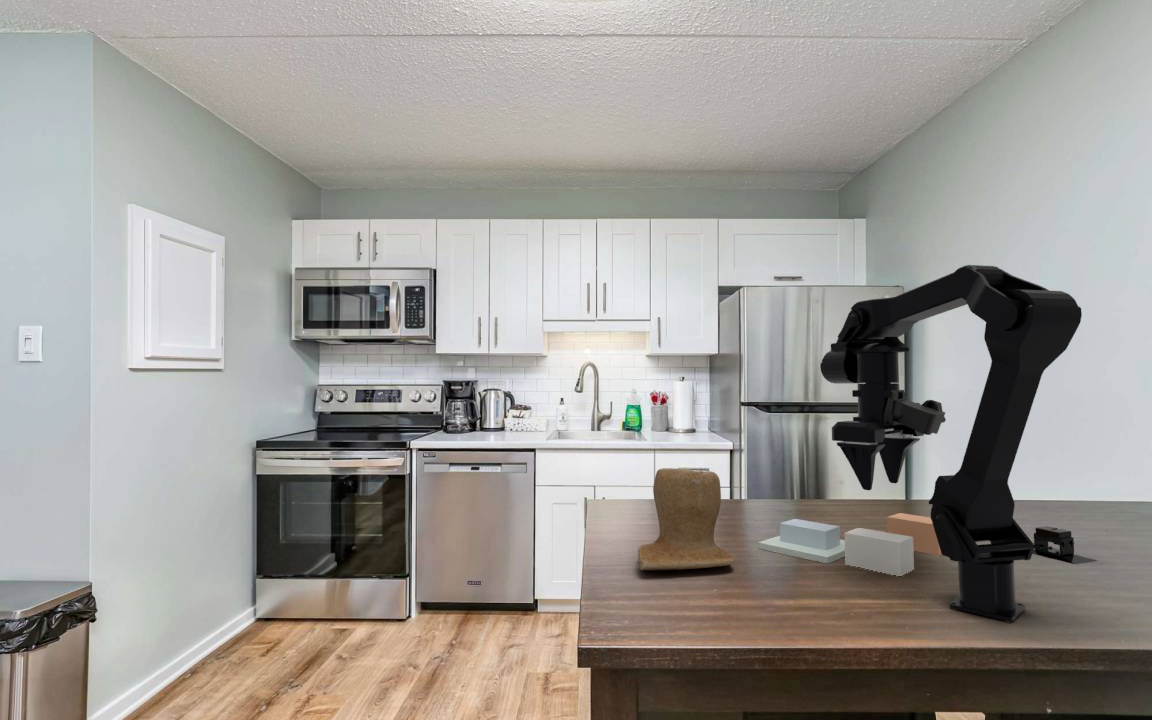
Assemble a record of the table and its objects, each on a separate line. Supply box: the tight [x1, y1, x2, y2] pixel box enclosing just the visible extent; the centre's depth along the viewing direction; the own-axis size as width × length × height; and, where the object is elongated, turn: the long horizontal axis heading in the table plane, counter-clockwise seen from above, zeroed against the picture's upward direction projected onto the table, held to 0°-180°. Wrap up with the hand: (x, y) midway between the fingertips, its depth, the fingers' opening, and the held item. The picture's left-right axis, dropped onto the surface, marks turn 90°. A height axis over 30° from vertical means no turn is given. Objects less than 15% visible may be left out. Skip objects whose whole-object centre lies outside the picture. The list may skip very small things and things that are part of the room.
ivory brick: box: [844, 527, 915, 577], centre depth 92 cm, size 5×8×5 cm, turn 42°
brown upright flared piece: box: [637, 467, 735, 571], centre depth 94 cm, size 15×12×15 cm
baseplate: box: [757, 518, 845, 564], centre depth 102 cm, size 12×12×4 cm
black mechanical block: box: [1032, 525, 1099, 565], centre depth 97 cm, size 12×7×5 cm, turn 19°
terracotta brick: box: [886, 512, 942, 556], centre depth 102 cm, size 5×8×5 cm, turn 39°
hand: (880, 486), depth 92 cm, fingers open, 9 cm apart
